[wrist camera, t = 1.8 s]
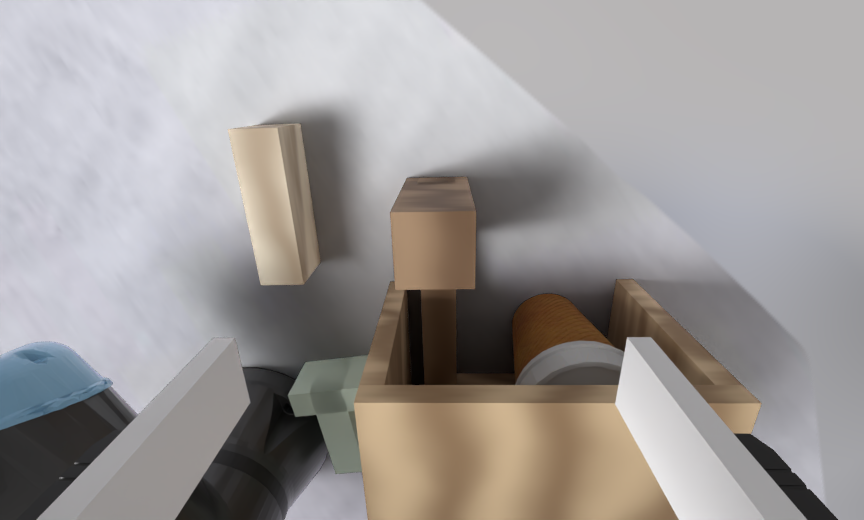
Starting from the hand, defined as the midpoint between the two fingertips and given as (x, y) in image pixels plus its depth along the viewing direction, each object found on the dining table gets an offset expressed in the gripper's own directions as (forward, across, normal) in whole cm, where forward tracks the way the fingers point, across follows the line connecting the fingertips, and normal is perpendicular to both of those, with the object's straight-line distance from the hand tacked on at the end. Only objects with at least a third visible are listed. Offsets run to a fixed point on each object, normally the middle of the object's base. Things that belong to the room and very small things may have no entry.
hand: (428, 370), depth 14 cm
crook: (+22, +5, -9) cm, 25 cm away
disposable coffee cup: (+23, +10, -12) cm, 27 cm away
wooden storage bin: (+22, +6, -14) cm, 27 cm away
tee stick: (+22, -10, -20) cm, 32 cm away
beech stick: (+23, -13, +1) cm, 26 cm away
